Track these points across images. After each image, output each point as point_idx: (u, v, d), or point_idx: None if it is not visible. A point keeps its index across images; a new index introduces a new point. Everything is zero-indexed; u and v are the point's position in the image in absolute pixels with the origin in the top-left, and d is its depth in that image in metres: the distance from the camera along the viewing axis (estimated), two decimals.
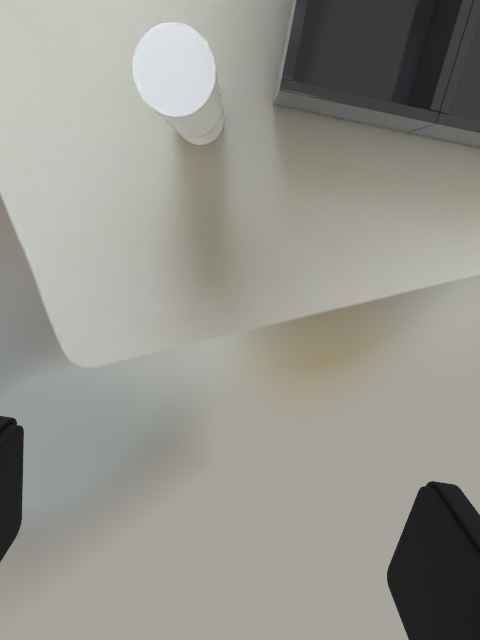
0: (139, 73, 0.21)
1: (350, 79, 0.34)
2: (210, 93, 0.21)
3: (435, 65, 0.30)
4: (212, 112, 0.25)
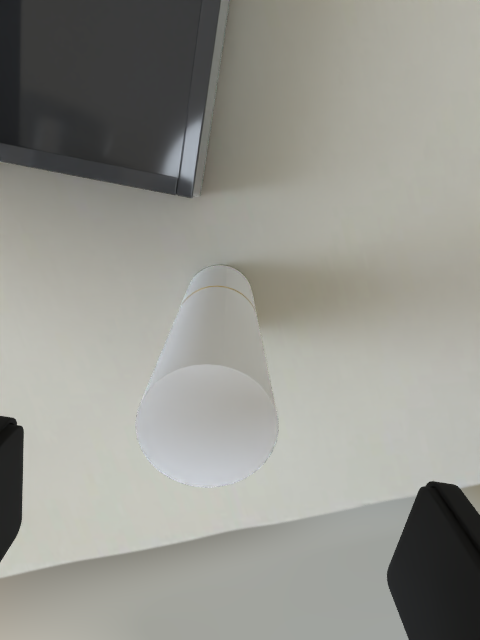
0: (212, 478, 0.13)
1: (162, 71, 0.22)
2: (241, 371, 0.12)
3: None
4: (245, 329, 0.15)
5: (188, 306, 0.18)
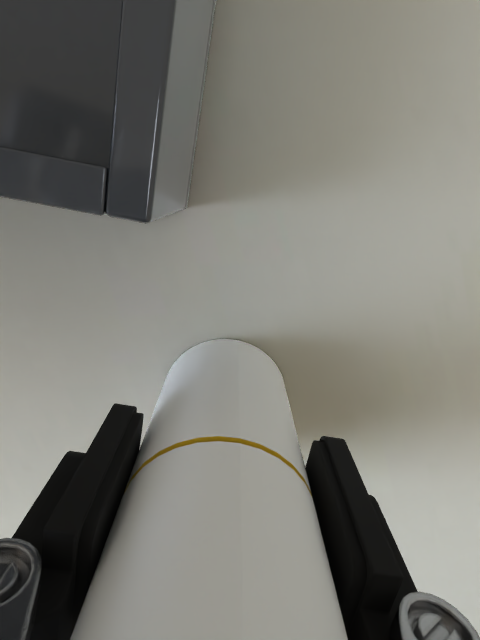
0: None
1: None
2: None
3: None
4: None
5: (129, 554, 0.06)
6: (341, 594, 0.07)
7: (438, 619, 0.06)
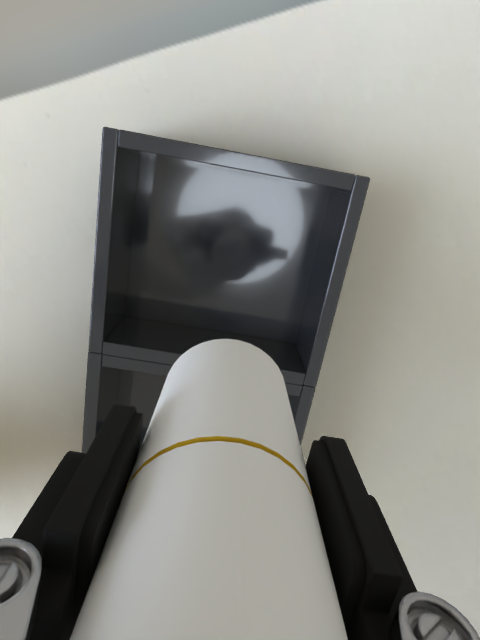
0: None
1: None
2: None
3: None
4: None
5: (129, 554, 0.06)
6: (341, 594, 0.07)
7: (437, 619, 0.06)
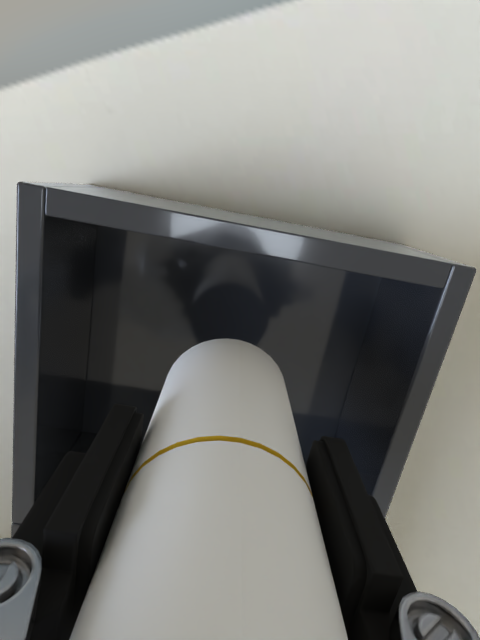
0: None
1: None
2: None
3: None
4: None
5: (129, 553, 0.06)
6: (341, 594, 0.07)
7: (437, 619, 0.06)
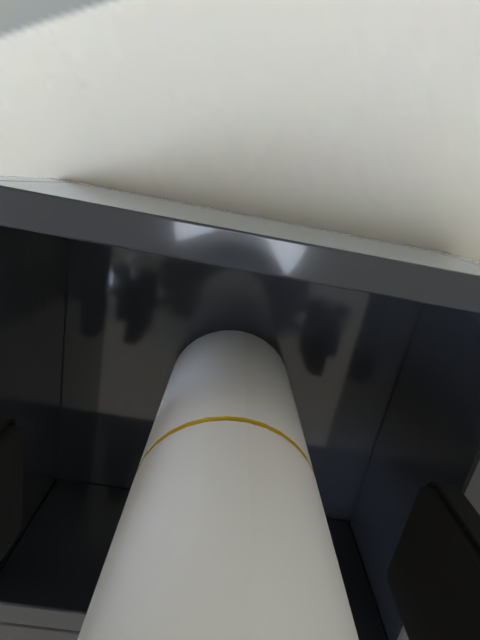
0: None
1: None
2: None
3: None
4: None
5: (147, 517, 0.07)
6: None
7: None
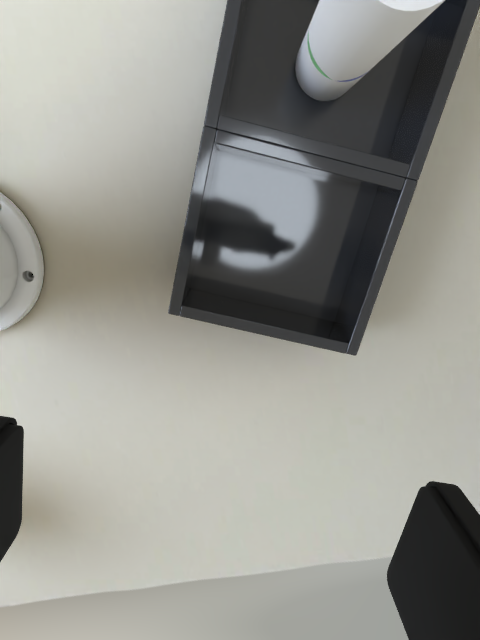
0: None
1: (327, 253, 0.31)
2: None
3: (346, 178, 0.26)
4: None
5: None
6: None
7: None
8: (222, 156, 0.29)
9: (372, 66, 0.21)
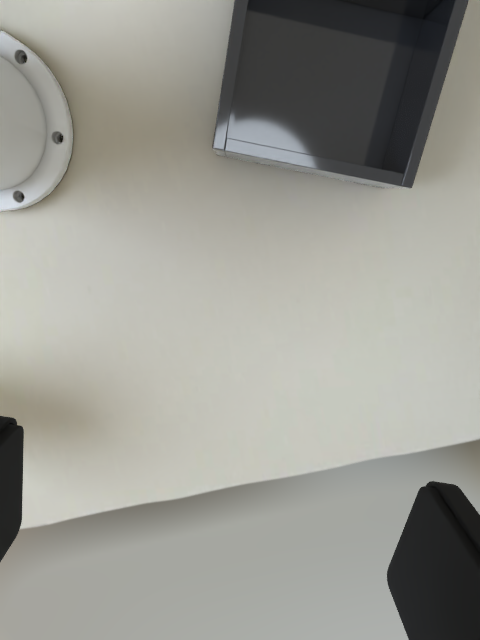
0: None
1: (371, 97, 0.30)
2: None
3: None
4: None
5: None
6: None
7: None
8: None
9: None
